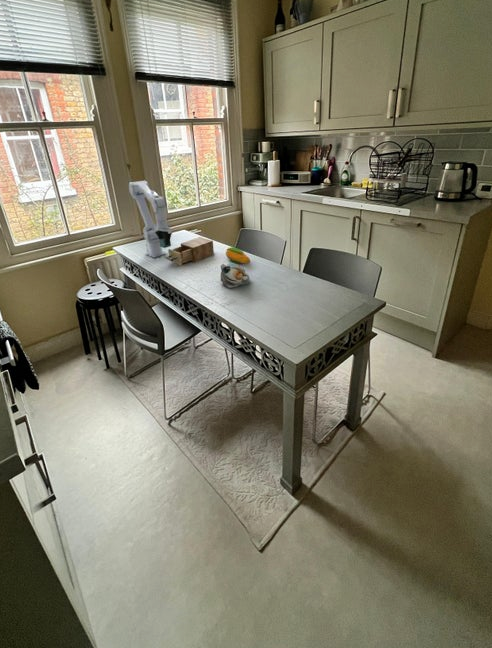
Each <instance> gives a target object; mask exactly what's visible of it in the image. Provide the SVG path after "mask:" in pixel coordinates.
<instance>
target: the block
mask: <svg viewBox="0 0 492 648" xmlns="http://www.w3.org/2000/svg"><path fill="white" fill-rule="evenodd" d="M171 242H172V241H170V244H169V245H166V244H165V240H164V238H161V239H159V243H160V247H162V249H166V248H169V247H171V246H172V243H171Z"/></svg>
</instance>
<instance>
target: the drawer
mask: <svg viewBox="0 0 492 648" xmlns="http://www.w3.org/2000/svg"><path fill="white" fill-rule="evenodd" d="M167 251H168V253H167V254H168V255H166V256H164V259H165V260H168V261H169V262H171V263H174V264H175V265H179V266H183V264H184V263H188V262H190V261H191V260H193V259H194V257H193V249H192V248H189V247H186V246H181V245H180V246H178V247H177V246H176V247H175V248H172V249H170V248H169V249H168V250H167ZM191 262H192V261H191Z"/></svg>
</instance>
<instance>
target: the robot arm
mask: <svg viewBox="0 0 492 648" xmlns="http://www.w3.org/2000/svg"><path fill="white" fill-rule="evenodd" d="M128 190H129V193H130V196H131V198H132V199H134V200H135V202H136V204H137V207H138V209H139V212H140V214H141V215H140V216H141V217H142V220H143V223H144V225H145V226H144V227H143V229H142V233H143V238H144V240H145V247H146V253H145V255H147V256H149V257H151V258H154V259H155V258H157V257H158V258H159V257H160V256H163V255H166V252H163V247H160V243H159V239H161V238H164V240H165V244H166V245H169V244H170V242H171V237H172V234H173V229H172V228H170V226H169V225H168V220H167V219H168V218H167V210H166V207H167V205H168V203H167V200H166V198H165V197H164V196H163V195H162V196H160V195H159V194H158V193H157V192H156V191H154V190H151V189H150V187H149V183H148V181H146V180H139V181H132V182H131V181H130V182H129V183H128ZM145 198H146V199H147V201H148V202H150V204H151V207H152V209H153V212H154V216H155V222H156V223H155V222H154V220H153V217H152V214H151V213H150V208H149V207H148V204H147V201H146V199H145Z"/></svg>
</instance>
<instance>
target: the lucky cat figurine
mask: <svg viewBox="0 0 492 648" xmlns="http://www.w3.org/2000/svg"><path fill="white" fill-rule="evenodd" d="M220 269H221V272H220V282H221V283H222V285H223V286H224V287H227V288H229V289H232V288H236V287H239V286H243V285H247V284H249V283H250V276H249V274H248V273H247V272H246V269H245V268H244V267H242V266H241V263H240V264H239V263H228V264H227V265H226V264H225V263H222V264H221V265H220Z"/></svg>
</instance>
